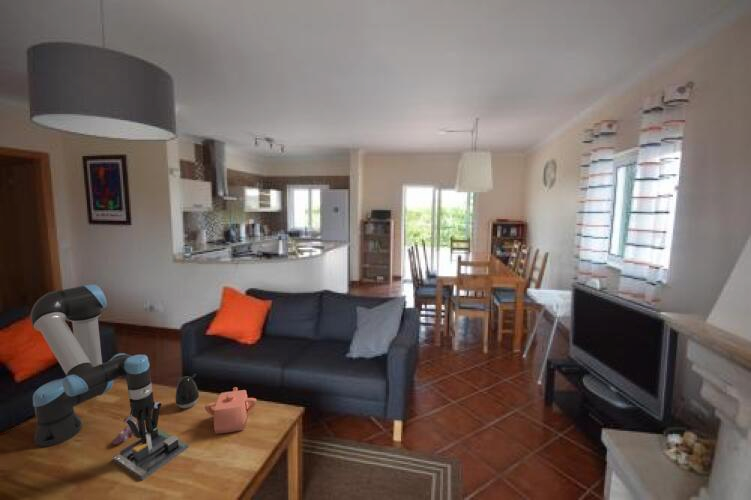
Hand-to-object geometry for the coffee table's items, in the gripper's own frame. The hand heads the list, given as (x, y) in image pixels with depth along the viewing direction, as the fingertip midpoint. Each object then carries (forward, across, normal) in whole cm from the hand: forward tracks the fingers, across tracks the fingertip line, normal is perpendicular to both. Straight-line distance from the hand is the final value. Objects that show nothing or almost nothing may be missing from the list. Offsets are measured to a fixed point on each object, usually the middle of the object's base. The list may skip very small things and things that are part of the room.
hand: (148, 448), depth 135 cm
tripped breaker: (+2, -3, 0) cm, 3 cm away
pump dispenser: (+4, +28, +17) cm, 33 cm away
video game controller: (+4, +2, +19) cm, 19 cm away
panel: (+3, +1, 0) cm, 3 cm away
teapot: (+4, +31, -12) cm, 33 cm away
